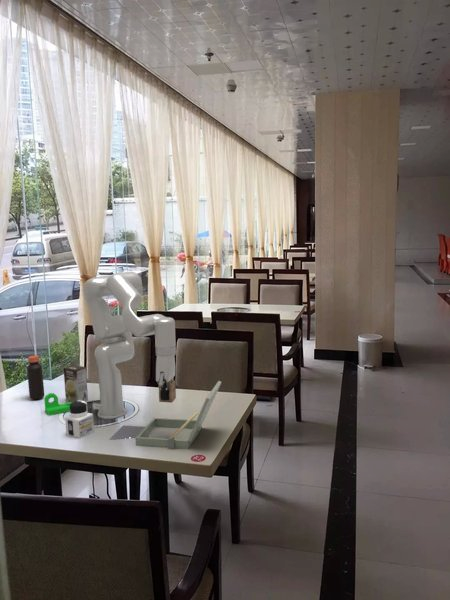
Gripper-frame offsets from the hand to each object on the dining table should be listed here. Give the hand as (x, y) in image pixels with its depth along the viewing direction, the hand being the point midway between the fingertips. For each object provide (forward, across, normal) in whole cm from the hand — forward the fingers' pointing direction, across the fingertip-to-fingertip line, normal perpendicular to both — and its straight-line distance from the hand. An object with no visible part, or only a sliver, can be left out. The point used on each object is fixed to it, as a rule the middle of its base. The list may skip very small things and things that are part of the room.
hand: (167, 396), depth 200 cm
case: (+16, 0, +1) cm, 16 cm away
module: (+1, 0, 0) cm, 1 cm away
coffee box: (+18, -35, -56) cm, 68 cm away
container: (+17, +2, -36) cm, 40 cm away
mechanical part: (+18, -22, -58) cm, 64 cm away
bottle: (+18, -37, -78) cm, 88 cm away
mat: (+17, -1, -16) cm, 23 cm away
